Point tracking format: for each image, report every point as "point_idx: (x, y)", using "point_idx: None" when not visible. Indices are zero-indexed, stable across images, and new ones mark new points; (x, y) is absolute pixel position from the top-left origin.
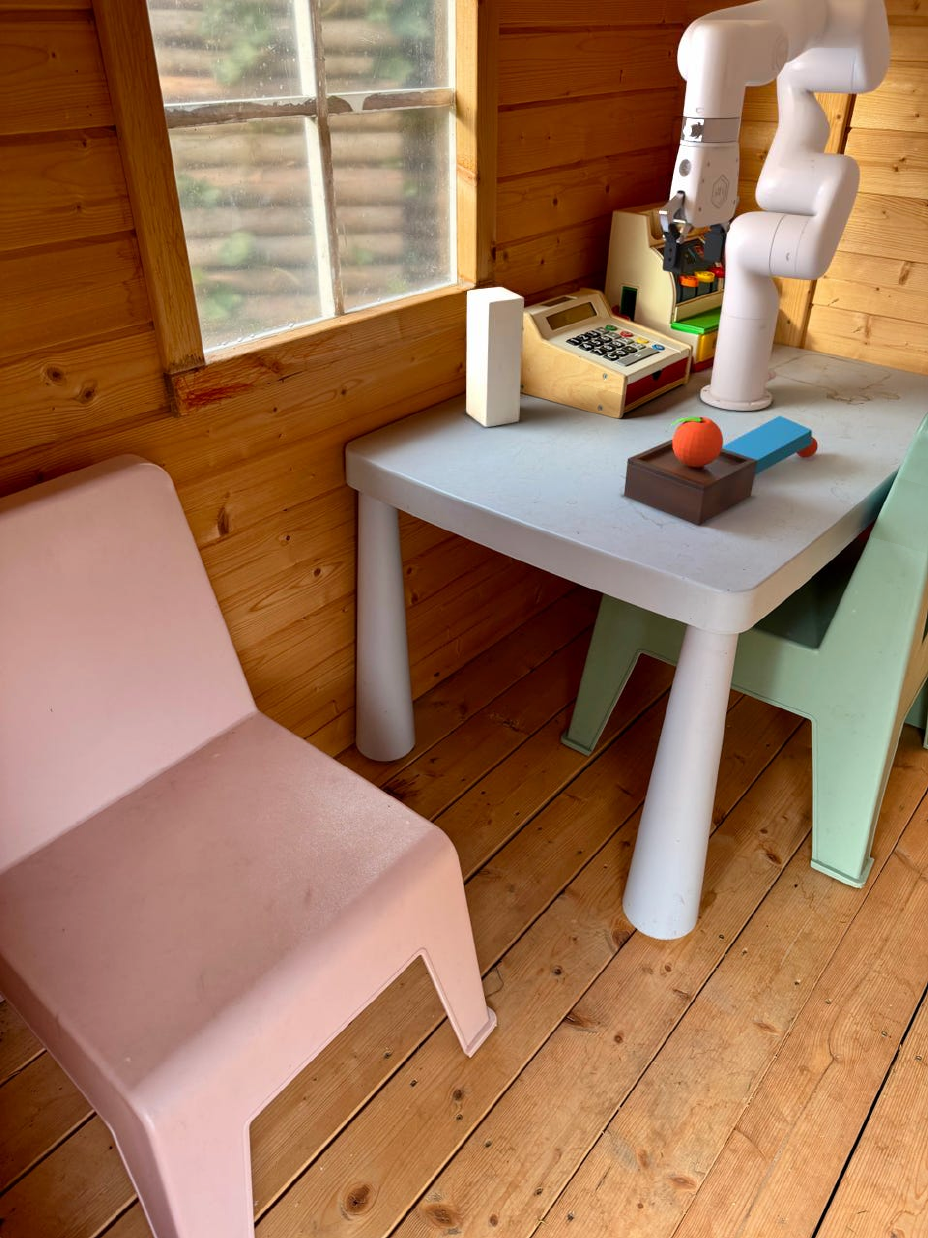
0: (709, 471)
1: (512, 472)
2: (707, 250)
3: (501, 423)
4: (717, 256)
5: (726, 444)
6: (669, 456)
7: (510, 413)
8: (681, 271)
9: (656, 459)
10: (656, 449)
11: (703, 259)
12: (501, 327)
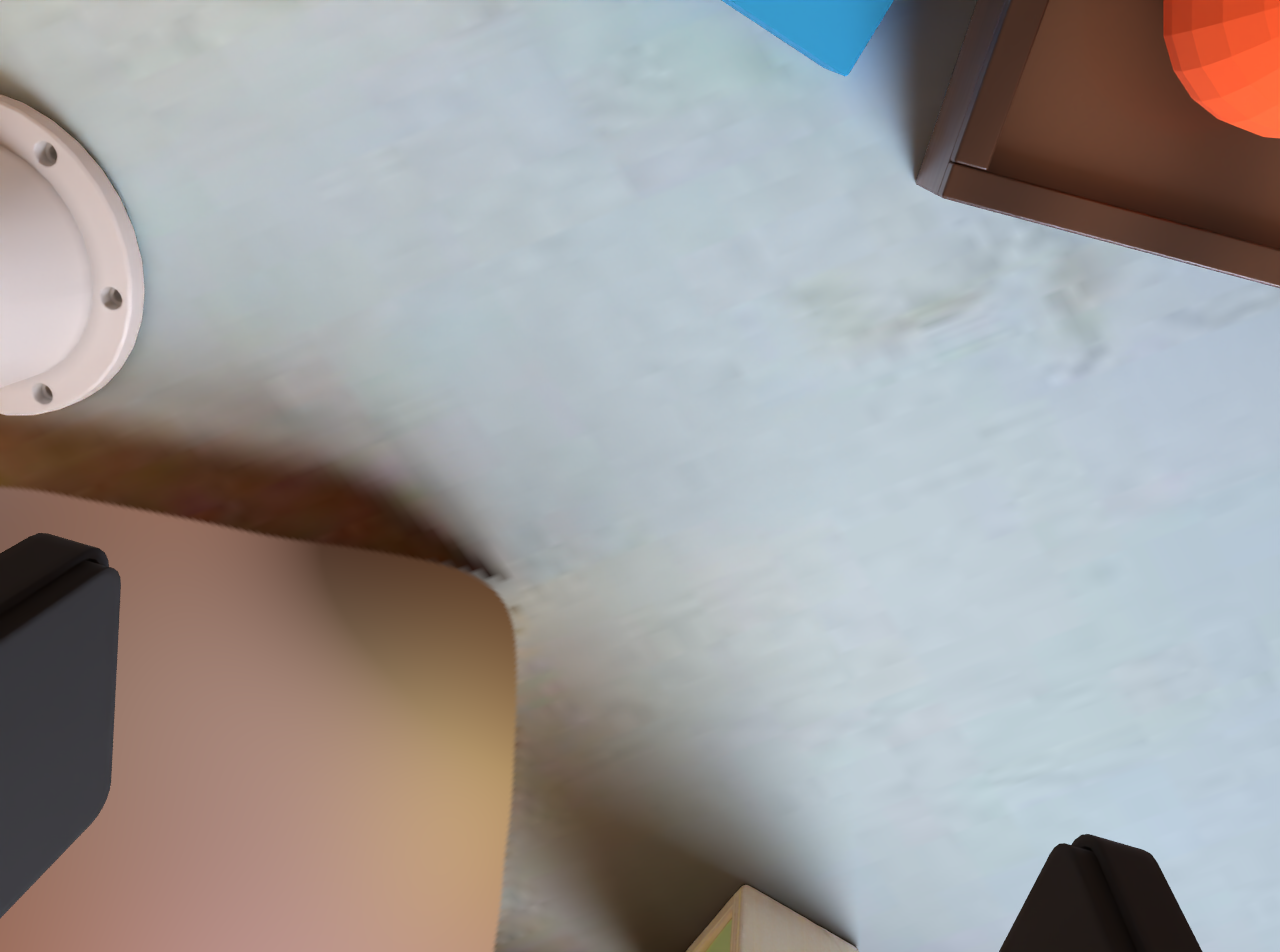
0: None
1: (1226, 731)
2: (20, 844)
3: (807, 921)
4: (67, 640)
5: (744, 9)
6: (1189, 162)
7: (777, 929)
8: (1137, 852)
9: (1257, 205)
10: (1201, 236)
11: (99, 790)
12: None
